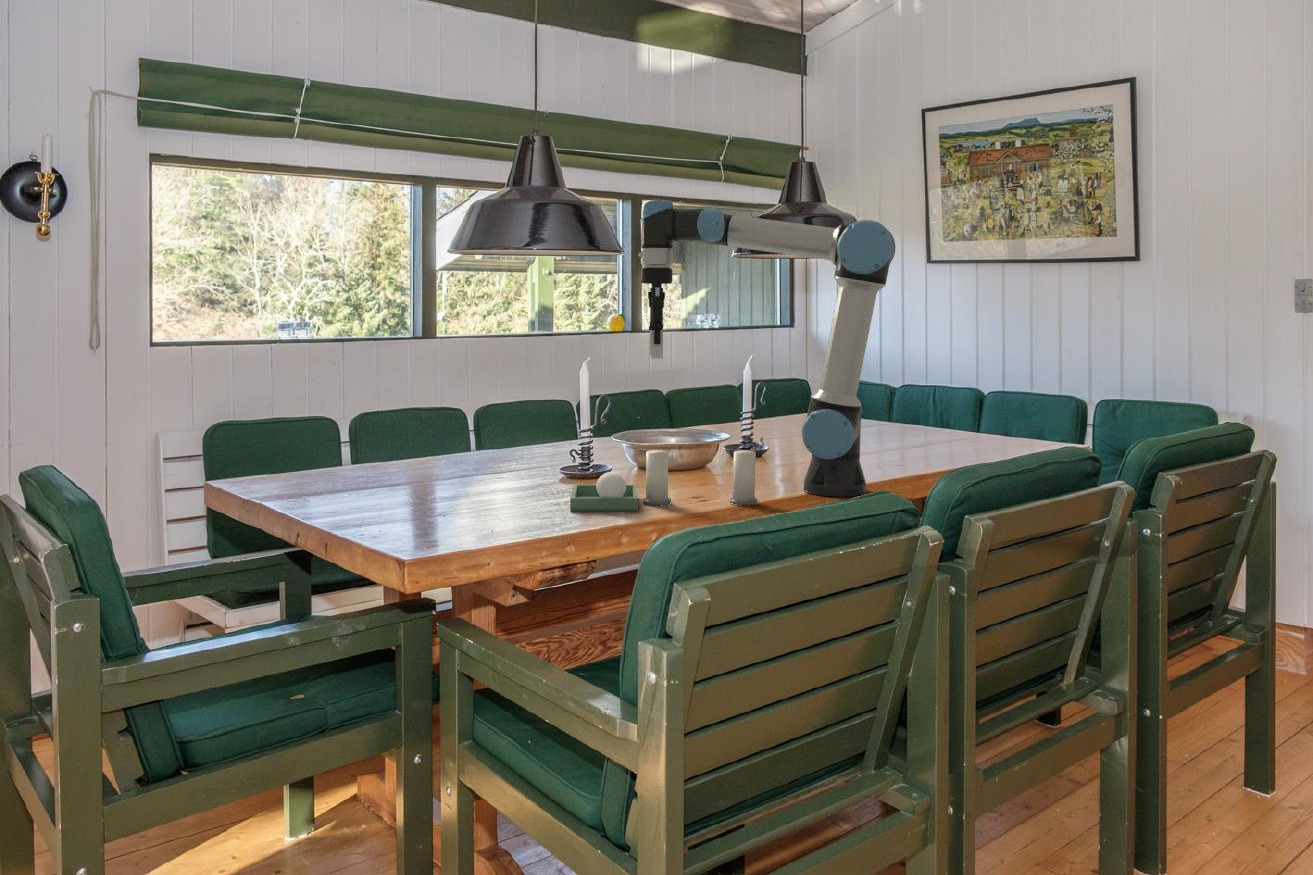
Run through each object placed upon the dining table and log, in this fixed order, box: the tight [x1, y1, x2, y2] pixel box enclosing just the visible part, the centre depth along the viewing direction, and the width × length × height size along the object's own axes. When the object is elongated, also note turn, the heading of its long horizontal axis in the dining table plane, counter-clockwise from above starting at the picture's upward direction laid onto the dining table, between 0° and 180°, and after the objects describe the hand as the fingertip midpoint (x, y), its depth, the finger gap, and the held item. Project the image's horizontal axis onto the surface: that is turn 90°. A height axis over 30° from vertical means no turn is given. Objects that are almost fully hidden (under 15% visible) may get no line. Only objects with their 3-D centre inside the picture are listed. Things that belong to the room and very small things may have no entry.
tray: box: [569, 484, 639, 513], centre depth 246 cm, size 15×17×3 cm
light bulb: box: [596, 471, 627, 498], centre depth 243 cm, size 7×7×11 cm
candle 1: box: [642, 449, 672, 507], centre depth 247 cm, size 6×6×12 cm
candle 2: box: [729, 449, 759, 507], centre depth 248 cm, size 6×6×12 cm
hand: (655, 356), depth 258 cm, fingers open, 13 cm apart
